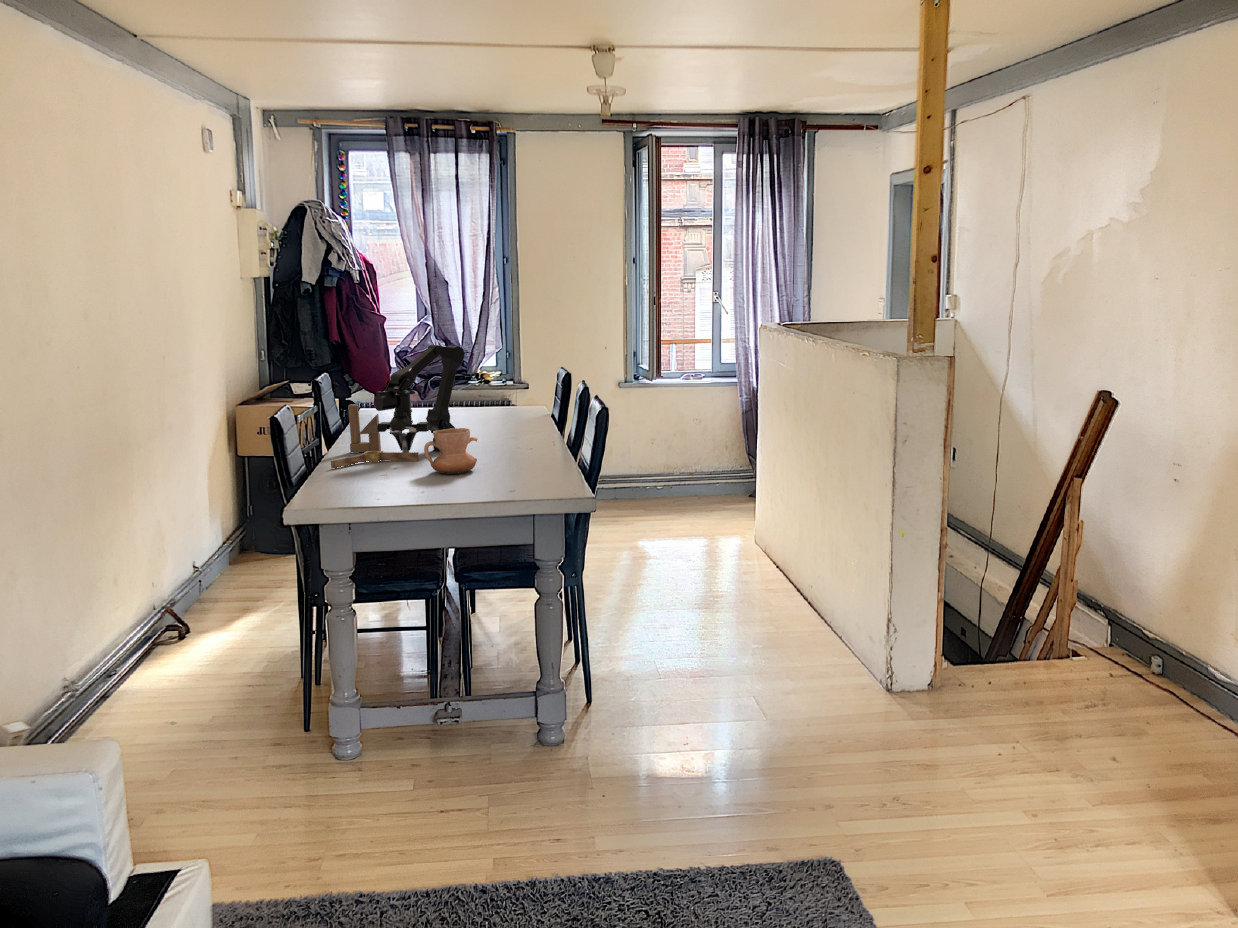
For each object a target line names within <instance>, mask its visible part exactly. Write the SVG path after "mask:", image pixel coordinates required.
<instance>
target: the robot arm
mask: <svg viewBox="0 0 1238 928" xmlns="http://www.w3.org/2000/svg"><path fill="white" fill-rule="evenodd" d="M465 356H466V352H465V350H464V348H462V347H461V346H454V345H446V346H444V345H439V344H430V345H428V347H427V348H426V349H425V350H424V351H423V352H422V353H420V355H418V356H417V357H416V358H415V359H414V360H413V361H412V362H410V363H409V364H408V365H407V366H405V367H403V368H400V369H397V370H396V371H394V372H393V373H392V374H391V375H390V379H389V381H388V384H387V385H386V386H385V389H384V391H376V395H375V396H374V399H373V406H374V408H375V410H376V411H377V412H382V411H383V412H384V411H389V410H394V411H393V417H392V418H391V420H390V421H382V422H379V424H378V425H377V432H379V433H385V432H386V431H388V430H389V435H392V436H393V437H394V439H395V441H396V442H397V444H398V448H399V449H400V452H402V439H401V436H400V433H403V432H404V431H405V430H408V431H407V432H406V433H407V435H408V450H409V451H411V449H412V445H413V442H414V439H415V438H416V436H417V434H418V433H421V432H422V433H423V432H424V433H426V432H429V431H430V433H431V434H433V431H438V430H444V429H445V430H446V429H451V428H456V427H455V426H454V425H453V424H452V423H451V415H450V411H449V410H450V409H449V406H450V401H451V396H452V392H453V389H454V384H455V378H456V373H457V371H458V370H459V368H460V367H461V366H462V365H463V362H464V359H465ZM438 357H439V358H441V359H440V360H441V365H442V373H441V375H440V376H441V378H440V381H439V386H438V391H437V396H436V398H435V399H436V400H435V404H434V405H433V408H432V409H431V408H430V409H429V408H428V409H427V415H426V418H425V421H419V422H417V423H413V421H414V420H413V419H412V413H413V408H412V406H411V395H415V394H416V392H415V391H414V390H413V389H412V388H411V387H412V385H414V383H415V382H416V379H417V377H418V375H420V373H422V372H423V371H424V370H425V369H426V368H427V367H428V366H429V365H431V363H432V362H434V361H435V360H436V359H437V358H438ZM432 441H434V442H435V439H434V437H432ZM432 447H433V448H432V449H433V450H432V451H433V452H440V450H439V449H438V448H437V447H435V446H432Z"/></svg>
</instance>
